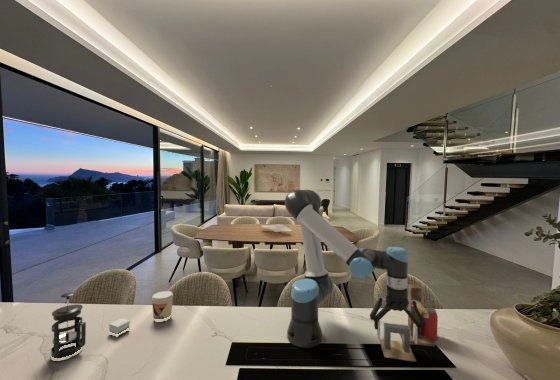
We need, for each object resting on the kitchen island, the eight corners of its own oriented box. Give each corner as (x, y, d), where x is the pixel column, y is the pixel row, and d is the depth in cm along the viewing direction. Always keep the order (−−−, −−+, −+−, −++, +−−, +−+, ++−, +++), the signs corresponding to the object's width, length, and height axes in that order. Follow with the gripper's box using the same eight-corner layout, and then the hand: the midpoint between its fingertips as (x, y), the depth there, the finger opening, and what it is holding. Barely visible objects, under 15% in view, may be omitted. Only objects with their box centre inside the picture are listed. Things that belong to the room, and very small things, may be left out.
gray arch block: (385, 349, 97) (385, 326, 97) (383, 344, 100) (383, 322, 100) (409, 352, 95) (409, 329, 95) (407, 348, 98) (407, 325, 98)
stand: (408, 355, 95) (409, 298, 95) (396, 327, 114) (396, 280, 114) (443, 360, 92) (443, 301, 92) (424, 330, 111) (424, 282, 112)
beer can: (440, 342, 103) (440, 314, 103) (423, 340, 104) (424, 312, 104) (432, 332, 110) (433, 306, 109) (417, 331, 111) (417, 305, 110)
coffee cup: (147, 323, 116) (147, 297, 116) (160, 313, 125) (160, 290, 125) (165, 325, 114) (165, 299, 114) (176, 315, 123) (176, 291, 123)
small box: (117, 338, 104) (117, 326, 104) (108, 335, 106) (108, 323, 106) (130, 331, 109) (130, 320, 109) (121, 328, 111) (121, 317, 111)
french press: (41, 362, 89) (42, 299, 89) (64, 345, 98) (64, 288, 98) (73, 362, 89) (74, 299, 89) (93, 346, 98) (93, 289, 98)
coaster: (384, 357, 93) (384, 355, 93) (379, 340, 104) (379, 338, 104) (416, 361, 91) (416, 360, 91) (407, 343, 102) (407, 342, 102)
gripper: (365, 287, 97) (364, 340, 97) (435, 293, 91) (435, 350, 91) (363, 280, 104) (362, 330, 104) (427, 285, 98) (427, 338, 98)
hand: (396, 339), depth 97 cm, fingers open, 13 cm apart
